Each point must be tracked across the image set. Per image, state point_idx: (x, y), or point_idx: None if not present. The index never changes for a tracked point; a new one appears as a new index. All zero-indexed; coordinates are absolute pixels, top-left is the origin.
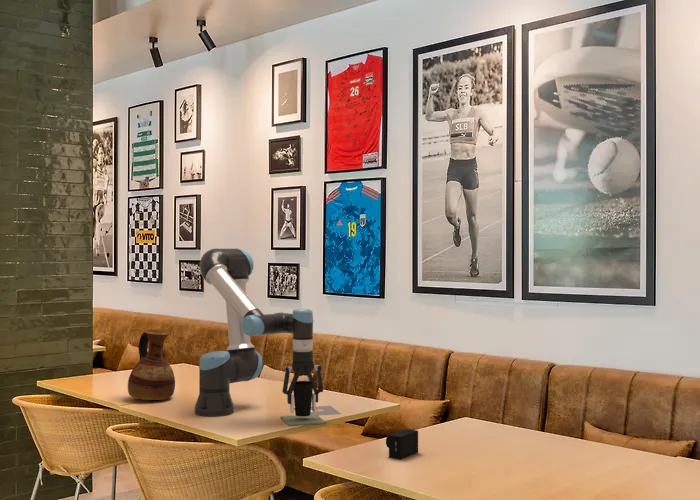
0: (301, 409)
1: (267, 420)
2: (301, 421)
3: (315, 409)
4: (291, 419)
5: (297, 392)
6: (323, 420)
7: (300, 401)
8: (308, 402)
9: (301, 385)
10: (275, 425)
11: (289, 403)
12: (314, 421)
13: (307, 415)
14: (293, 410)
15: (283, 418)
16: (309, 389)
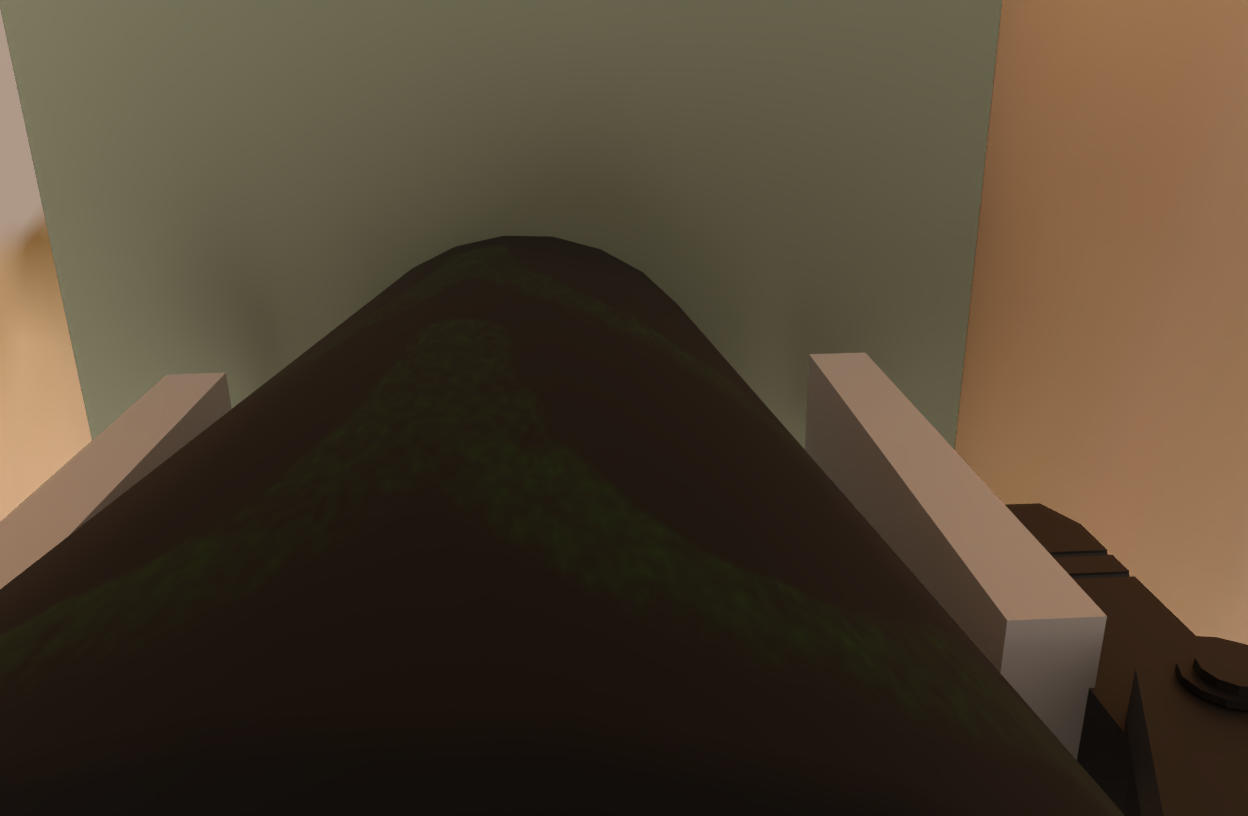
0: (614, 275)
1: (1214, 584)
2: (611, 160)
3: (144, 396)
4: (787, 427)
5: (914, 581)
6: (38, 128)
7: (674, 351)
8: (330, 339)
9: (815, 736)
10: (1238, 82)
11: (1021, 511)
12: (286, 70)
13: (432, 259)
14: (831, 380)
15: None
16: (16, 587)
